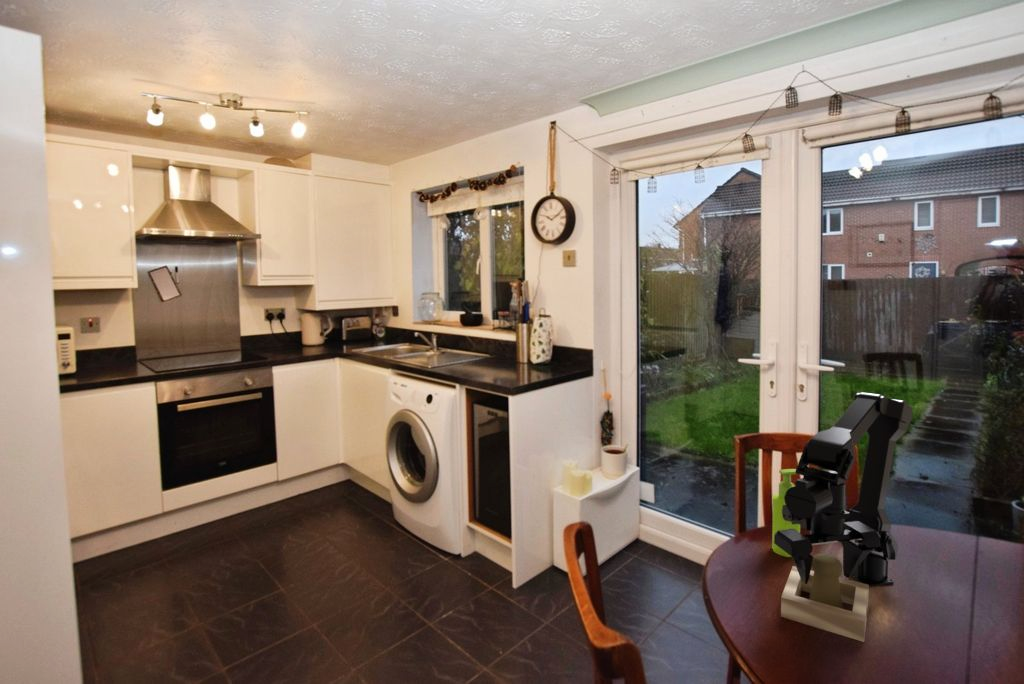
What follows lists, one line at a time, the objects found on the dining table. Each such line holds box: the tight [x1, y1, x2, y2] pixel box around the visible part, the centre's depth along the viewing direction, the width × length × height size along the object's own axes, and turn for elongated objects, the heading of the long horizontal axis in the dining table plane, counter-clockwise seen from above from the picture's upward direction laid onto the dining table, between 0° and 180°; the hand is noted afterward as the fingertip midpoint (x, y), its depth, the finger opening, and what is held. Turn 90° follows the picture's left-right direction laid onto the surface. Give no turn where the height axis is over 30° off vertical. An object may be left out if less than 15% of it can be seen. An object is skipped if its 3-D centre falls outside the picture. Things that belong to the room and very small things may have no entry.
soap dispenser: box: [771, 468, 801, 558], centre depth 126 cm, size 6×7×20 cm
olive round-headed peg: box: [808, 553, 844, 609], centre depth 104 cm, size 6×6×11 cm
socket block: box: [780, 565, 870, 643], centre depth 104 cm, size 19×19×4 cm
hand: (825, 579), depth 103 cm, fingers open, 9 cm apart
